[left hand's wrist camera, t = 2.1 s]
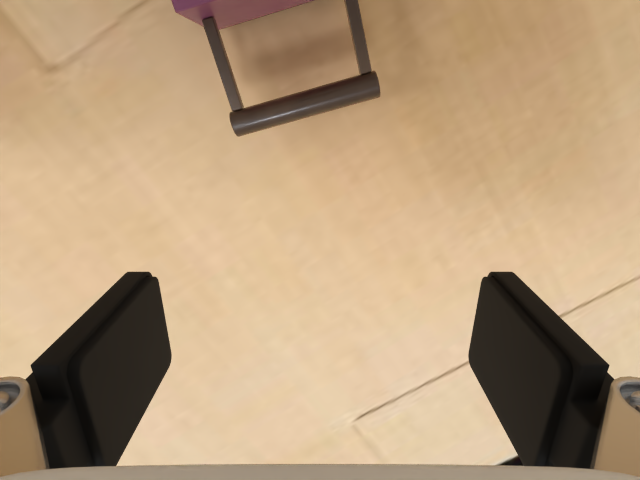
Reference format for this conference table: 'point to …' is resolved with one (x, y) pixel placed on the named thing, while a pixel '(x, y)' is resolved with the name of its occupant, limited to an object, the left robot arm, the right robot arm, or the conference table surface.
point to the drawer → (249, 3)
